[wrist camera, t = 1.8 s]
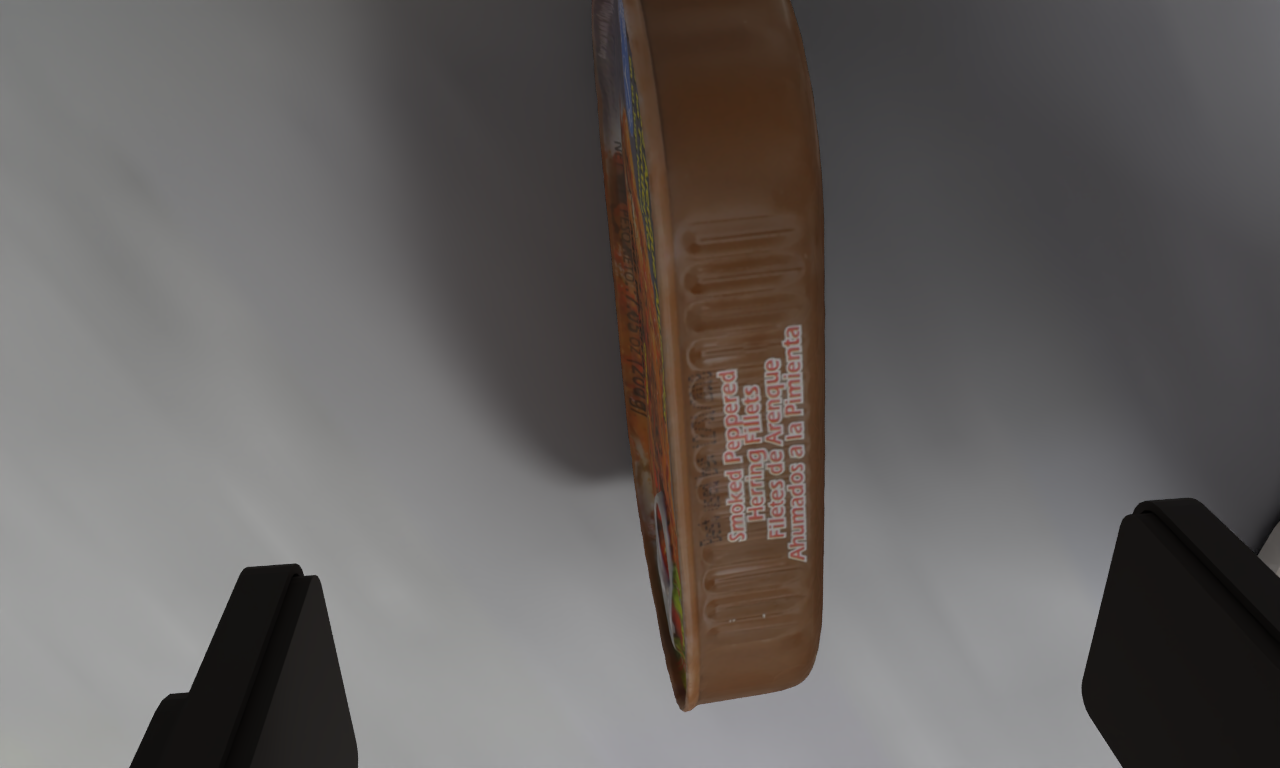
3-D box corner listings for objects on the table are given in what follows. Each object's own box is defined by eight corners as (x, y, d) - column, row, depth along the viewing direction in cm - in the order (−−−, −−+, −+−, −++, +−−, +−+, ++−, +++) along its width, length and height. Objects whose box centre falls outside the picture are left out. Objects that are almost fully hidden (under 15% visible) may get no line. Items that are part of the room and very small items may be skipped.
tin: (579, -76, 19) (583, -53, 12) (738, -90, 19) (842, -75, 12) (638, 545, 26) (664, 810, 19) (755, 534, 26) (828, 793, 19)
